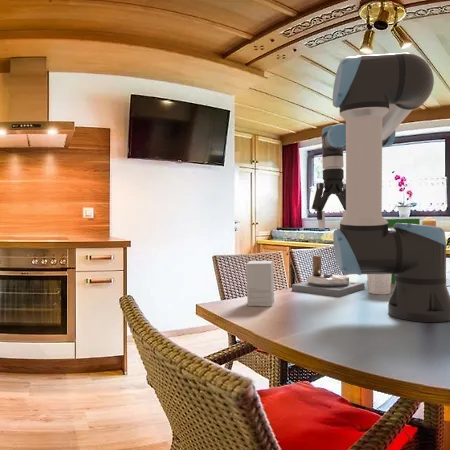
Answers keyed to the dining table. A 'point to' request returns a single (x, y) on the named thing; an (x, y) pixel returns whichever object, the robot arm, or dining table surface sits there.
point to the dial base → (329, 288)
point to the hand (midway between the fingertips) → (334, 228)
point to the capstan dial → (325, 276)
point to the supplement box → (260, 283)
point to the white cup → (379, 283)
